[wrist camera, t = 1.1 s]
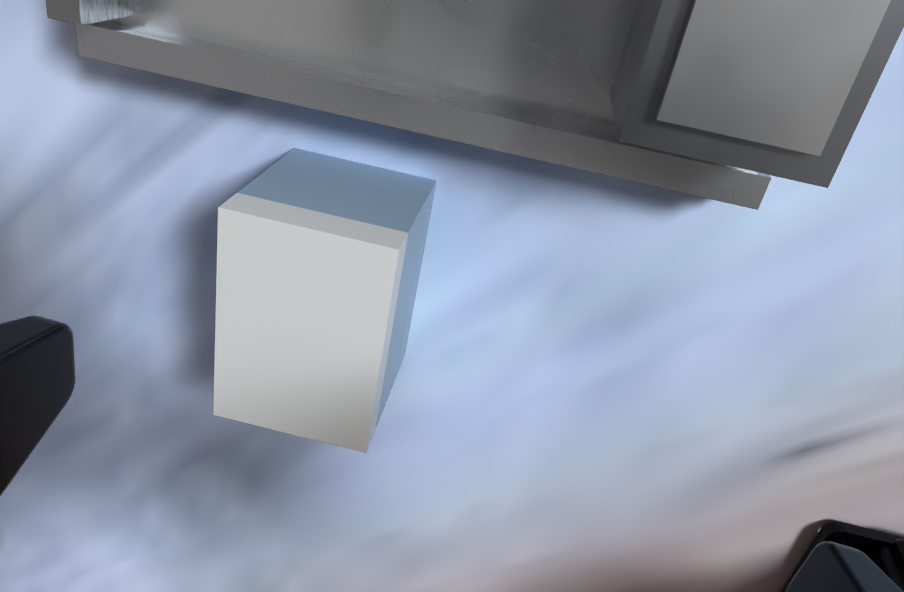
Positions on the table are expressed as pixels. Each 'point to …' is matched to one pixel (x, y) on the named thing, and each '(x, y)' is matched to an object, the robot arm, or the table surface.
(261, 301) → the block
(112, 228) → the table surface
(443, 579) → the table surface
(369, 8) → the din rail
